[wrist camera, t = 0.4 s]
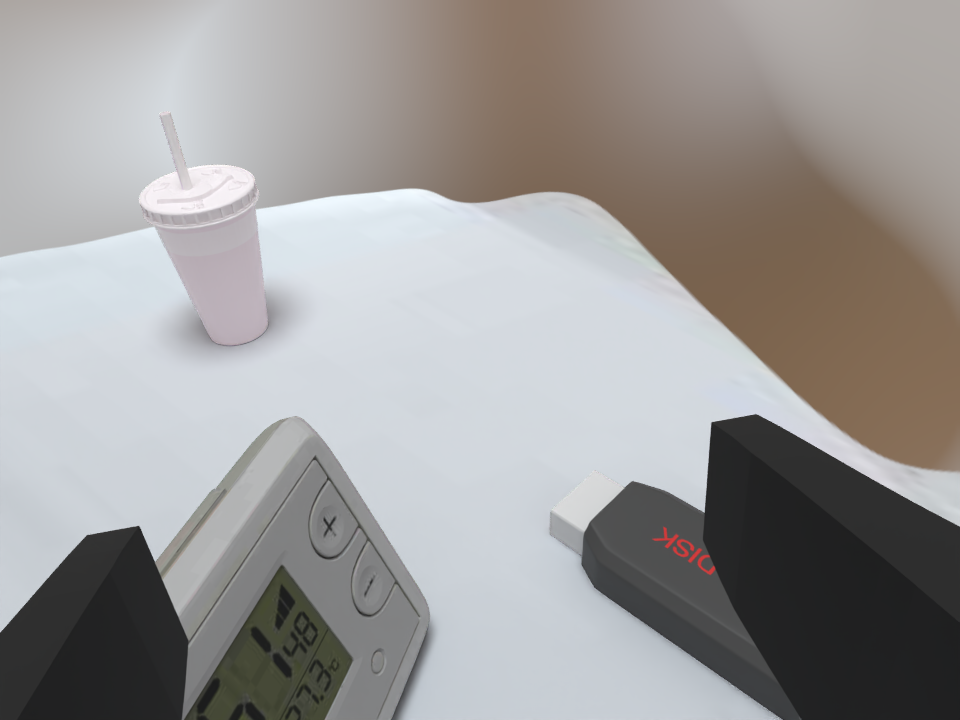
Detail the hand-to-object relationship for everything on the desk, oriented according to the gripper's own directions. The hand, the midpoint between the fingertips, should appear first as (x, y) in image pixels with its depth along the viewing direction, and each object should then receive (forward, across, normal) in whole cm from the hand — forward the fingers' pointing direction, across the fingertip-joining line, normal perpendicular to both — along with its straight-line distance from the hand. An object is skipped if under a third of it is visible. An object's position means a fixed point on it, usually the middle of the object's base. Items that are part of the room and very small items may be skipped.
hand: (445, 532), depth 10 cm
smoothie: (+38, +10, +15) cm, 42 cm away
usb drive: (+14, -10, +19) cm, 25 cm away
